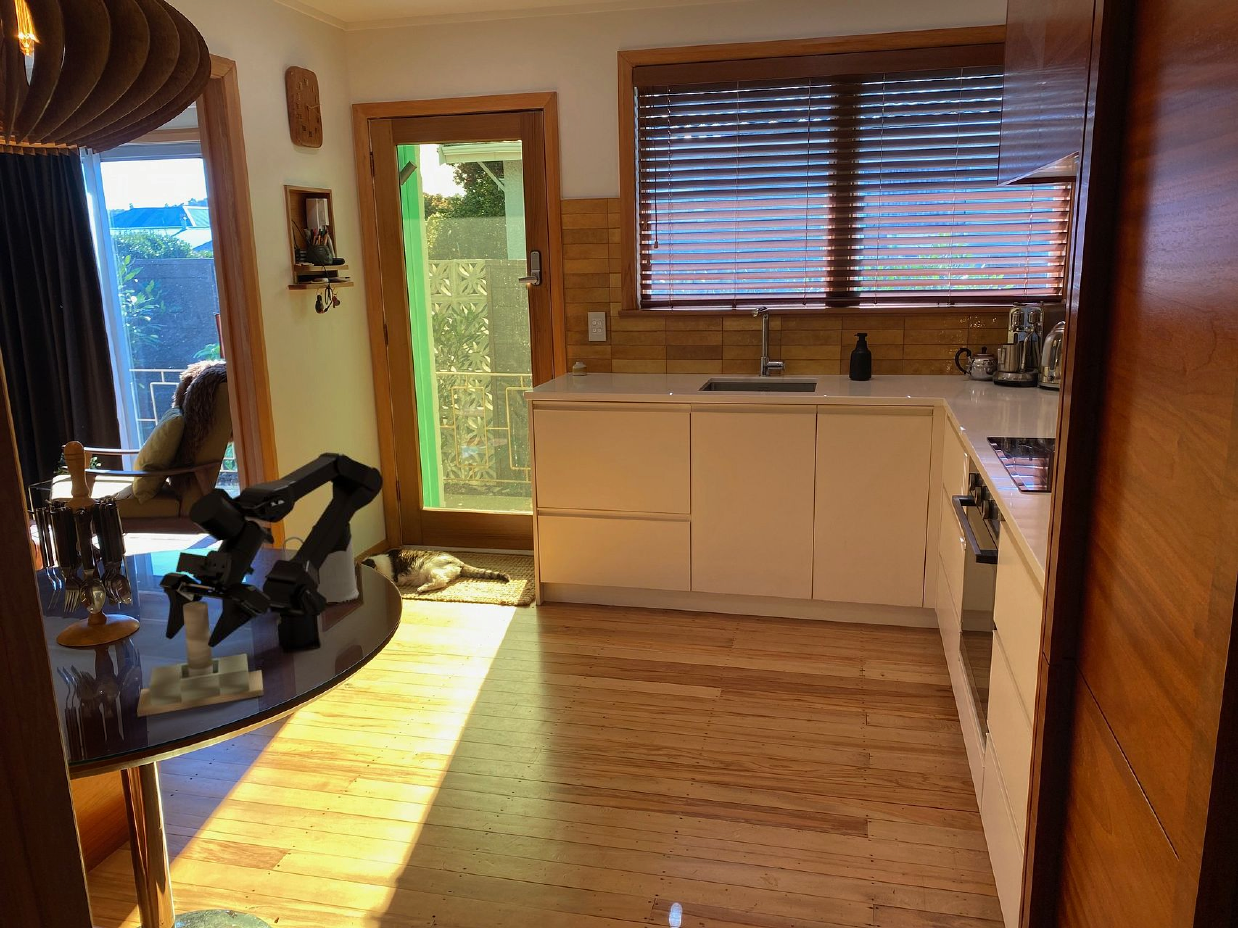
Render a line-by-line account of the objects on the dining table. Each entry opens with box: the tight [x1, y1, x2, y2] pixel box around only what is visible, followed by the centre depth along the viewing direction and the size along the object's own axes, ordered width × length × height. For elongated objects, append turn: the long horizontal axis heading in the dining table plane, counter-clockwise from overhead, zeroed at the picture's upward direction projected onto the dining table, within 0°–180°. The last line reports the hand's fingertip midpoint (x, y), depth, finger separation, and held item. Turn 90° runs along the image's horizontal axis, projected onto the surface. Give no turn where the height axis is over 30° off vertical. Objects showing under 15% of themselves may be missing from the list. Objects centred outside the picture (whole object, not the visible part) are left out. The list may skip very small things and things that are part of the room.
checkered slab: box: [136, 653, 264, 717], centre depth 150 cm, size 18×8×4 cm, turn 112°
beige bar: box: [183, 600, 213, 677], centre depth 149 cm, size 4×4×14 cm
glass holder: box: [281, 522, 360, 604], centre depth 193 cm, size 9×14×15 cm, turn 116°
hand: (189, 642), depth 147 cm, fingers open, 9 cm apart
